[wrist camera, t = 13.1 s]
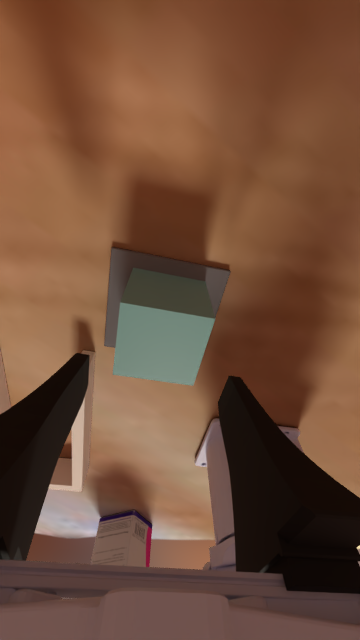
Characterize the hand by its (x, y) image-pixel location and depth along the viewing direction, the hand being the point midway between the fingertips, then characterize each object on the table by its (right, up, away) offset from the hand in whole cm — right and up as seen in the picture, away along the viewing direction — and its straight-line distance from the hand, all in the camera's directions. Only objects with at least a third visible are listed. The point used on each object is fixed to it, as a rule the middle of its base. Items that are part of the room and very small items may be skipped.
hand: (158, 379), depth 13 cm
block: (0, +4, +6) cm, 7 cm away
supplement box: (-7, -26, +25) cm, 37 cm away
